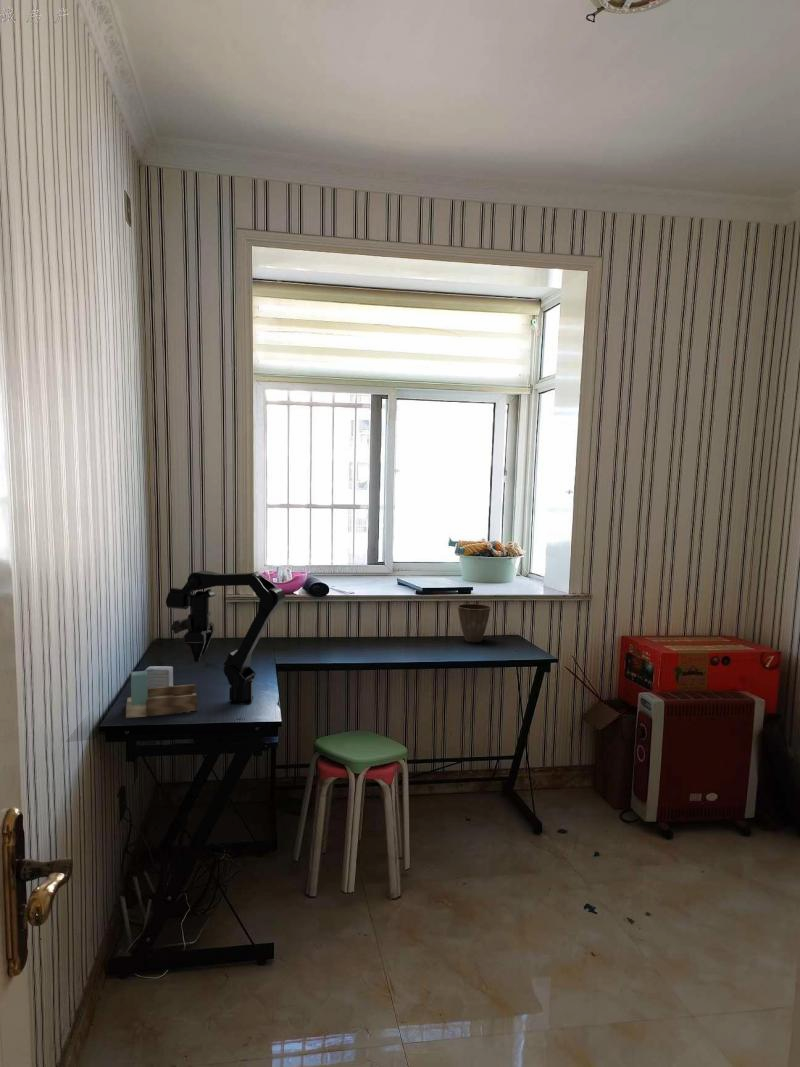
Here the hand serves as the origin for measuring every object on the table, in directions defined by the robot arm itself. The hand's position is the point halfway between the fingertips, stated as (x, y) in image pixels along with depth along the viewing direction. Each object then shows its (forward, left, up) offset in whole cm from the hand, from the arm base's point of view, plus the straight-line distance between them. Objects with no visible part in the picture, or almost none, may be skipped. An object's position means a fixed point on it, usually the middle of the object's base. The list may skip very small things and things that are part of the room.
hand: (199, 658), depth 212 cm
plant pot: (-107, -81, -13) cm, 135 cm away
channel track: (+10, +10, -13) cm, 19 cm away
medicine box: (+14, -5, -13) cm, 20 cm away
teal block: (+15, +12, -10) cm, 22 cm away
